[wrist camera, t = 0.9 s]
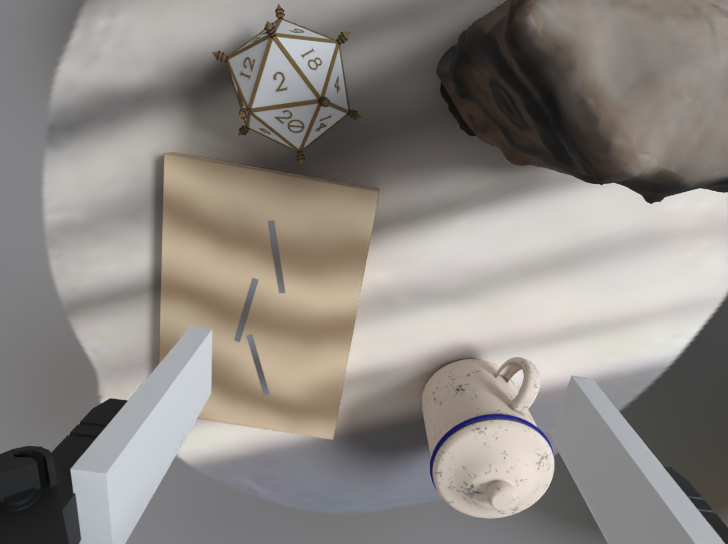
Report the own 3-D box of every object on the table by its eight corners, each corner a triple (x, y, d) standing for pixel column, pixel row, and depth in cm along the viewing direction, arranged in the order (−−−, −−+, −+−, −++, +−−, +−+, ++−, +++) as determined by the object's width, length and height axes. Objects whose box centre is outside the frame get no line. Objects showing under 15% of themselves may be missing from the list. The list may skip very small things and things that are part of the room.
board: (173, 152, 34) (164, 153, 32) (378, 189, 34) (379, 192, 33) (165, 402, 41) (157, 413, 40) (334, 428, 42) (332, 439, 40)
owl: (620, 149, 33) (952, 189, 14) (459, 206, 35) (565, 310, 16) (589, -35, 29) (985, -313, 10) (408, 38, 31) (470, -88, 12)
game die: (331, 92, 36) (408, 123, 29) (249, 157, 34) (308, 206, 28) (273, -26, 29) (354, -22, 22) (169, 48, 28) (221, 76, 21)
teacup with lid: (484, 451, 43) (524, 568, 32) (400, 416, 41) (412, 524, 30) (555, 354, 39) (628, 446, 28) (466, 311, 38) (506, 391, 27)
